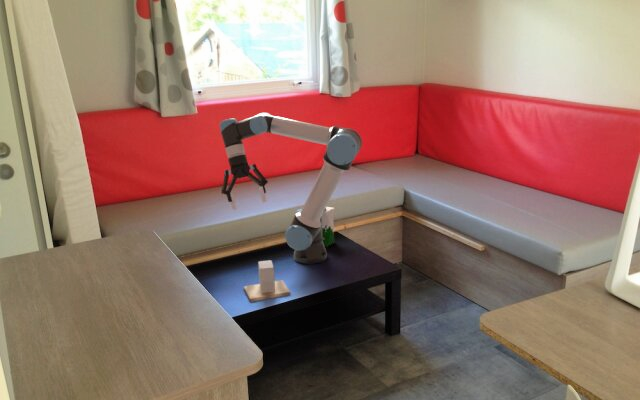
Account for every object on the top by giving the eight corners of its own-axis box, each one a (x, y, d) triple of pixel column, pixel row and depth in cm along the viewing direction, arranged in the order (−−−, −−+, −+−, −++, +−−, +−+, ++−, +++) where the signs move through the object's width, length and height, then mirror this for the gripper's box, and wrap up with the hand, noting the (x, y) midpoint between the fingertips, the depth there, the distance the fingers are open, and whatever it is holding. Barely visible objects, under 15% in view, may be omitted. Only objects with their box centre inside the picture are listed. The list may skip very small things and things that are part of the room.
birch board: (282, 282, 227) (282, 279, 226) (290, 294, 216) (290, 291, 215) (244, 289, 222) (243, 286, 222) (250, 301, 211) (250, 298, 211)
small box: (275, 292, 215) (273, 267, 212) (261, 293, 215) (259, 268, 212) (273, 283, 223) (271, 259, 220) (259, 285, 222) (257, 261, 219)
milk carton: (312, 245, 267) (310, 205, 261) (322, 239, 274) (321, 201, 268) (327, 248, 262) (326, 208, 256) (337, 242, 269) (336, 203, 264)
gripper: (260, 152, 238) (273, 199, 238) (205, 163, 226) (218, 213, 227) (266, 148, 231) (279, 197, 231) (210, 160, 220) (224, 211, 220)
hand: (249, 205), depth 229 cm, fingers open, 13 cm apart
